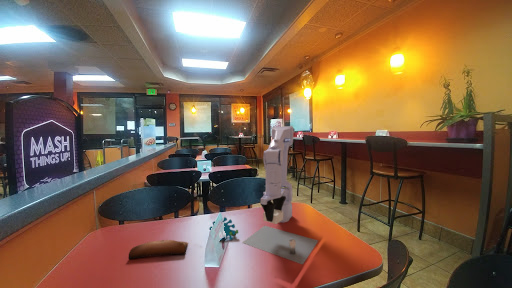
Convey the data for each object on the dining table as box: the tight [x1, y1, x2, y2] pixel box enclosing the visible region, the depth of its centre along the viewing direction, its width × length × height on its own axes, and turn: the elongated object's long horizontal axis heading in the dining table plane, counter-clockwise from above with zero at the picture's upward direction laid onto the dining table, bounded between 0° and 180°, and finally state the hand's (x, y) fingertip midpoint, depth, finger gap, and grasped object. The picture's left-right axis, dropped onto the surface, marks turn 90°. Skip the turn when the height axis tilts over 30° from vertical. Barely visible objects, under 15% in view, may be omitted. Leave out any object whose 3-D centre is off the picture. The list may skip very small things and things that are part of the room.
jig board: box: [241, 225, 319, 265], centre depth 75 cm, size 16×23×1 cm
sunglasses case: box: [128, 239, 189, 260], centre depth 71 cm, size 18×7×7 cm
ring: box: [262, 209, 283, 225], centre depth 76 cm, size 5×5×3 cm
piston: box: [289, 239, 296, 254], centre depth 68 cm, size 2×2×4 cm
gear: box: [209, 216, 239, 241], centre depth 80 cm, size 11×6×10 cm
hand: (273, 218), depth 76 cm, fingers closed on ring, 5 cm apart
